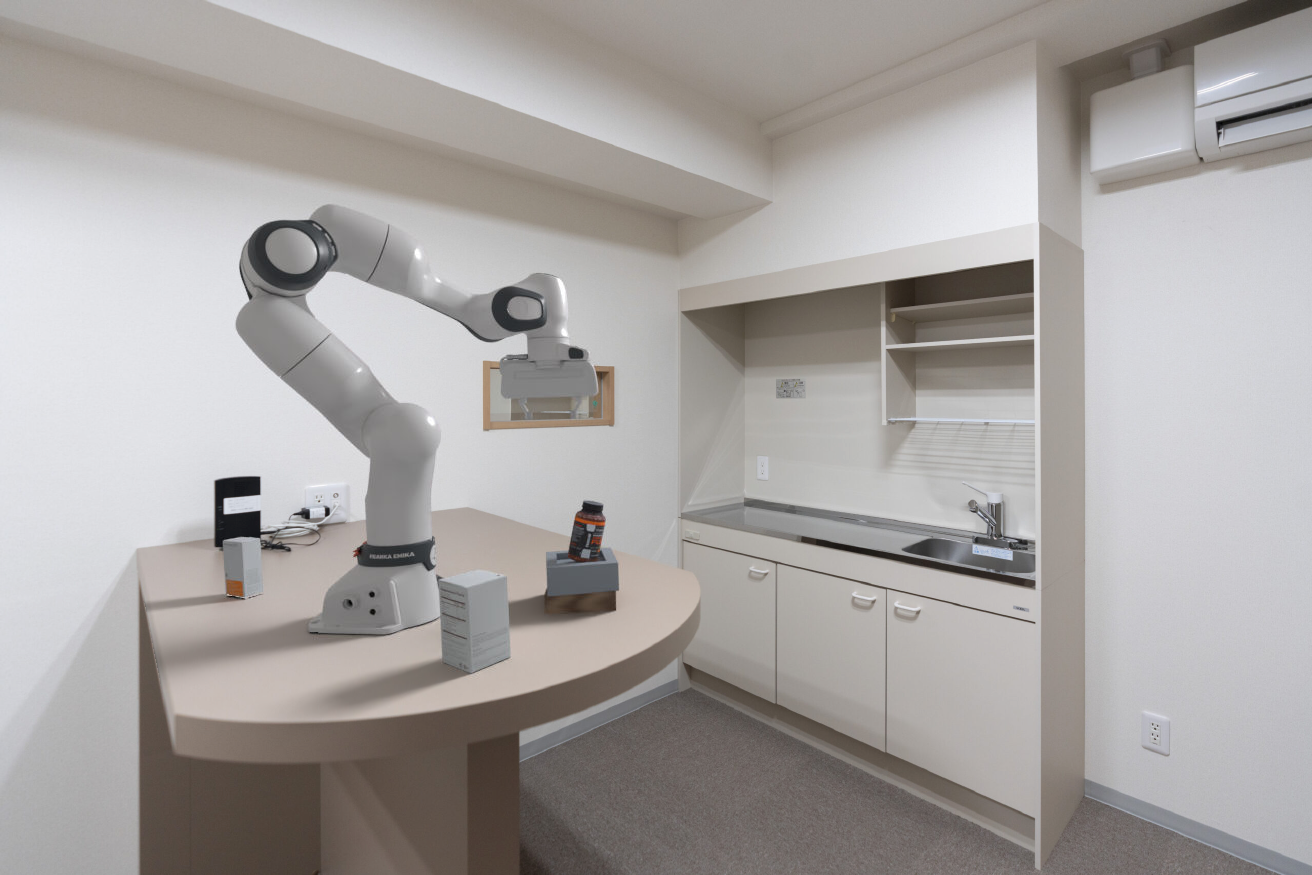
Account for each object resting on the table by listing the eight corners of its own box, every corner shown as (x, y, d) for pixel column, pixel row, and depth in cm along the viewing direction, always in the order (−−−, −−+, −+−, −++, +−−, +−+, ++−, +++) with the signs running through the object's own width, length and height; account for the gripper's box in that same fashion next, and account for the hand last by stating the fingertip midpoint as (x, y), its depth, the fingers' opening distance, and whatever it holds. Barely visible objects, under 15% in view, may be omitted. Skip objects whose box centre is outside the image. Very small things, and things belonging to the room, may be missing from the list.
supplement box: (482, 646, 99) (479, 567, 98) (512, 657, 94) (508, 574, 93) (440, 662, 93) (436, 578, 92) (469, 674, 88) (465, 586, 88)
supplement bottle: (592, 566, 116) (603, 507, 116) (562, 559, 118) (573, 500, 117) (601, 560, 122) (612, 504, 122) (573, 553, 124) (583, 497, 123)
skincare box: (224, 597, 130) (221, 540, 129) (245, 591, 134) (241, 536, 133) (244, 599, 128) (241, 541, 127) (264, 593, 132) (261, 537, 131)
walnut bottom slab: (544, 616, 114) (544, 595, 113) (551, 595, 127) (551, 576, 126) (616, 613, 115) (615, 591, 114) (616, 592, 128) (615, 573, 127)
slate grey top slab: (547, 596, 113) (546, 568, 112) (546, 577, 125) (545, 551, 125) (619, 590, 115) (618, 562, 115) (611, 572, 128) (610, 547, 128)
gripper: (495, 353, 127) (498, 421, 128) (596, 350, 129) (598, 418, 129) (501, 356, 134) (504, 420, 134) (597, 353, 135) (599, 417, 136)
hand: (551, 419), depth 132 cm, fingers open, 8 cm apart
